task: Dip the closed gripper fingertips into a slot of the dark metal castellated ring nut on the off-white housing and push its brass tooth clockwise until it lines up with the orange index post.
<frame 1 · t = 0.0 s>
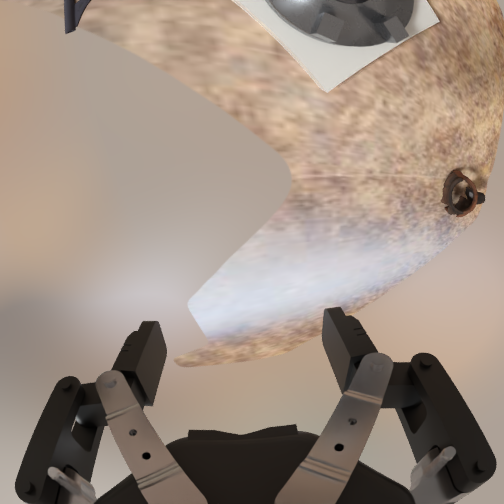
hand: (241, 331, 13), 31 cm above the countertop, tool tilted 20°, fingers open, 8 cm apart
pottery mug: (453, 188, 44), on the countertop
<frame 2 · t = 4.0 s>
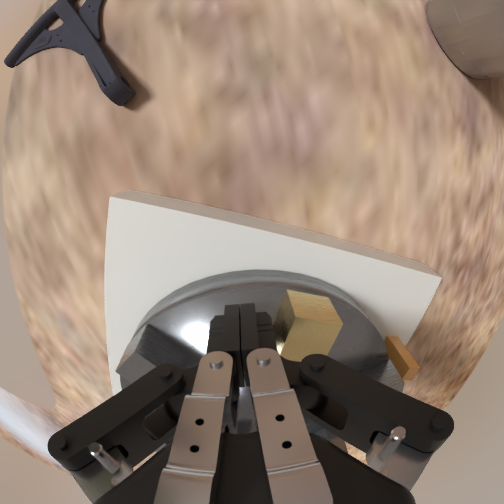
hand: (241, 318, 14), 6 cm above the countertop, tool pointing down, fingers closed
bracket: (91, 44, 13), on the countertop
ring nut: (257, 408, 17), point 6 cm above the countertop, hinge at 0.0°, touching gripper
housing: (253, 358, 23), on the countertop
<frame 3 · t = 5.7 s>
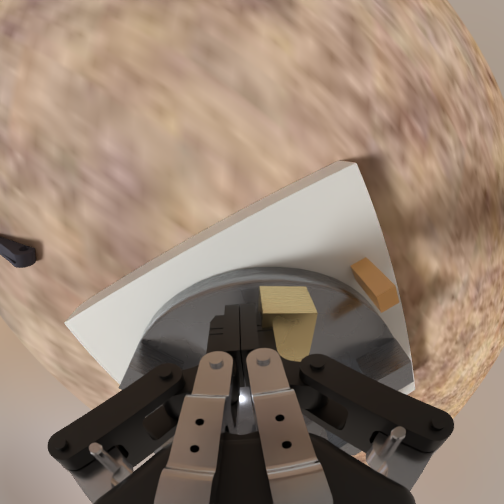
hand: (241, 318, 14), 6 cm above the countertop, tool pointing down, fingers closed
ring nut: (267, 406, 17), point 6 cm above the countertop, hinge at 30.6°, touching gripper
housing: (262, 356, 23), on the countertop
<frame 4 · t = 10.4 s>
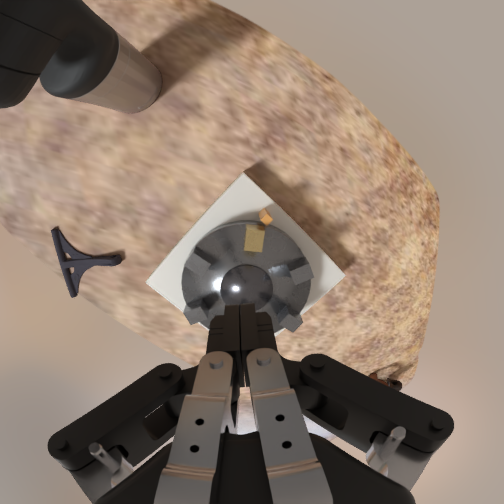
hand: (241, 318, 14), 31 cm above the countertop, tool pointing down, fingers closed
bracket: (90, 259, 46), on the countertop
ring nut: (246, 288, 42), point 6 cm above the countertop, hinge at 52.9°
housing: (245, 272, 47), on the countertop
pottery mug: (375, 381, 61), on the countertop
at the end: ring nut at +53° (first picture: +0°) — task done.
